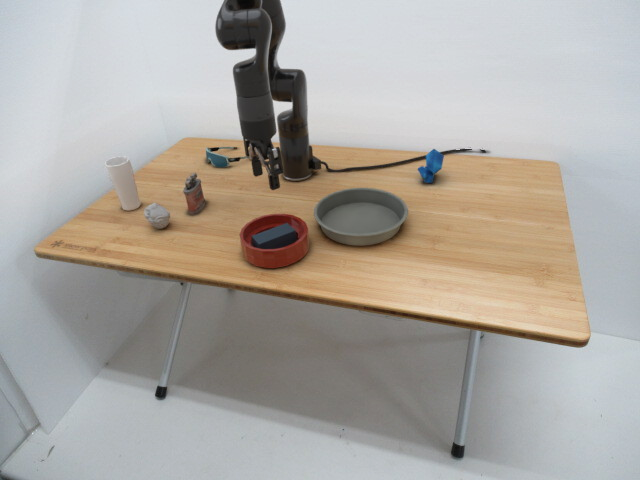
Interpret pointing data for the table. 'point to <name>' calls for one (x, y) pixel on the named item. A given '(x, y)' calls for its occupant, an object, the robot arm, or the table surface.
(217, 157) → the sunglasses
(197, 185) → the lighter
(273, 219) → the bowl
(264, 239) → the blue rectangular block
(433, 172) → the crystal
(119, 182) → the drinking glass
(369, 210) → the cake pan
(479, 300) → the table surface
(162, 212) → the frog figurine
